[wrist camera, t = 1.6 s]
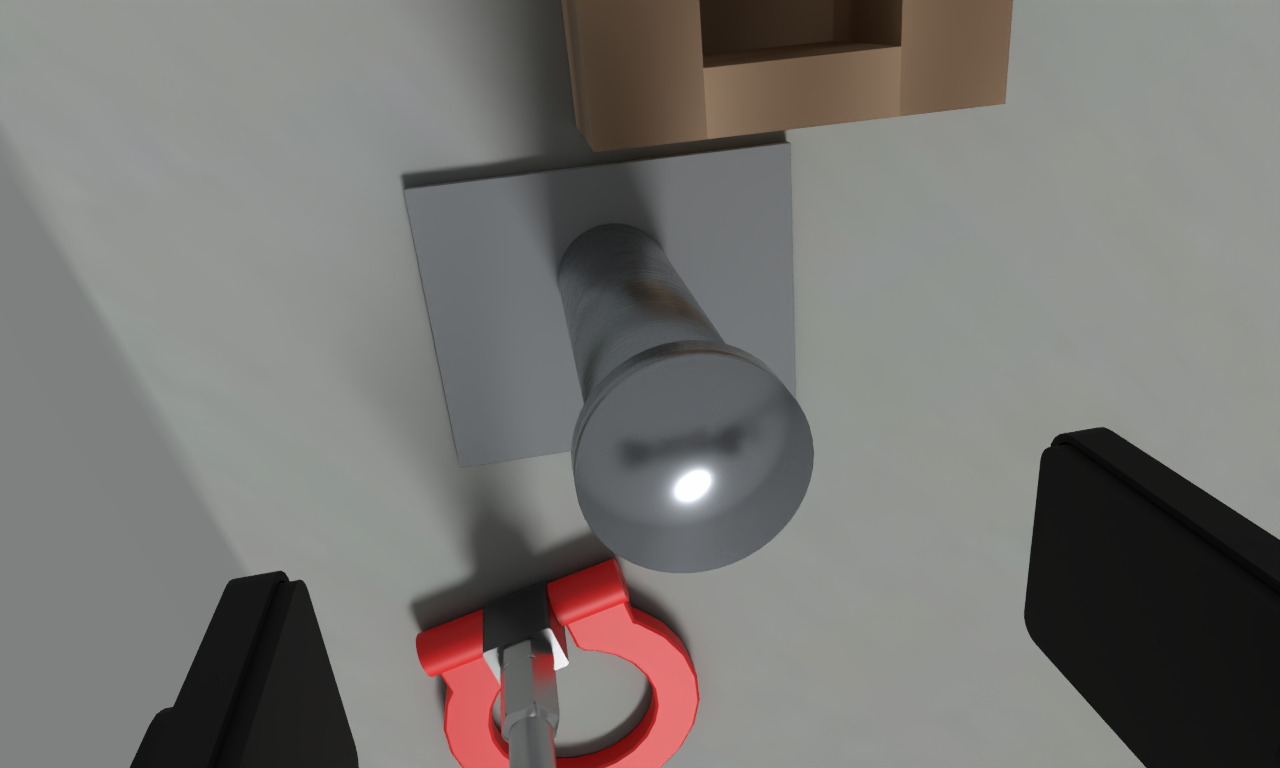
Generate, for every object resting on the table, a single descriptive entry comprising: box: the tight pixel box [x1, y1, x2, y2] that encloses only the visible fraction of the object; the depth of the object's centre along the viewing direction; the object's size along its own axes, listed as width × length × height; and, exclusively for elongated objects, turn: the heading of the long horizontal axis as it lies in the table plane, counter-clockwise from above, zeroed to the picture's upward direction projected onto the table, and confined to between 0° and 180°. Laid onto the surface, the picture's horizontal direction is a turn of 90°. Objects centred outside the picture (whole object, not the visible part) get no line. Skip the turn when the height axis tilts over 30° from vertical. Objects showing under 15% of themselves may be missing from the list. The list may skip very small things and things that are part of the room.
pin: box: [558, 223, 814, 573], centre depth 18 cm, size 4×4×11 cm
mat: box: [404, 142, 796, 468], centre depth 24 cm, size 10×8×1 cm
